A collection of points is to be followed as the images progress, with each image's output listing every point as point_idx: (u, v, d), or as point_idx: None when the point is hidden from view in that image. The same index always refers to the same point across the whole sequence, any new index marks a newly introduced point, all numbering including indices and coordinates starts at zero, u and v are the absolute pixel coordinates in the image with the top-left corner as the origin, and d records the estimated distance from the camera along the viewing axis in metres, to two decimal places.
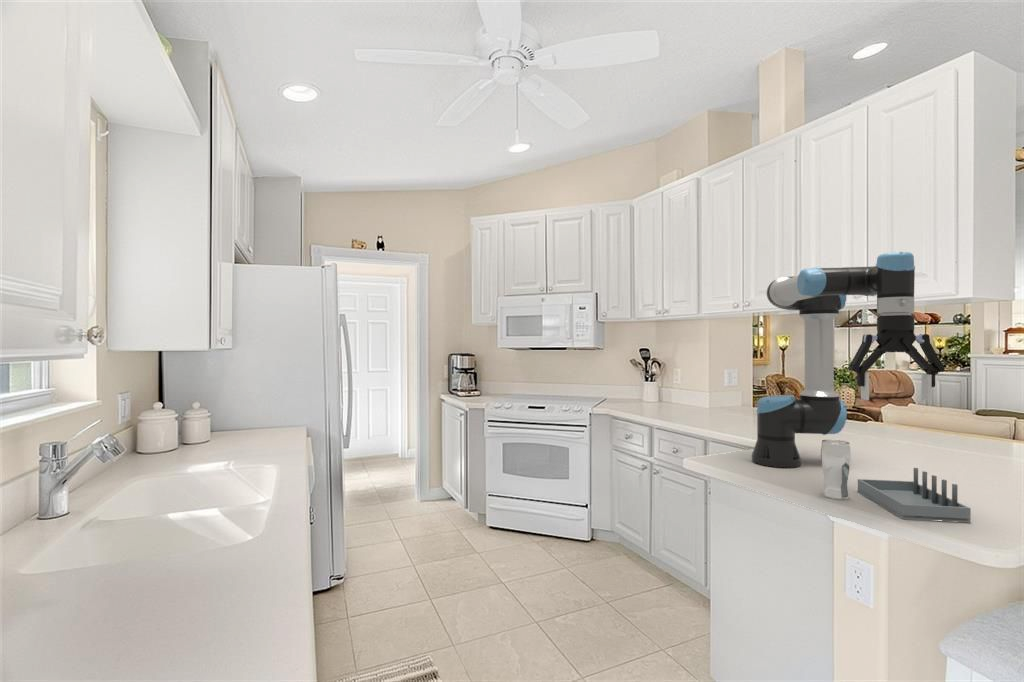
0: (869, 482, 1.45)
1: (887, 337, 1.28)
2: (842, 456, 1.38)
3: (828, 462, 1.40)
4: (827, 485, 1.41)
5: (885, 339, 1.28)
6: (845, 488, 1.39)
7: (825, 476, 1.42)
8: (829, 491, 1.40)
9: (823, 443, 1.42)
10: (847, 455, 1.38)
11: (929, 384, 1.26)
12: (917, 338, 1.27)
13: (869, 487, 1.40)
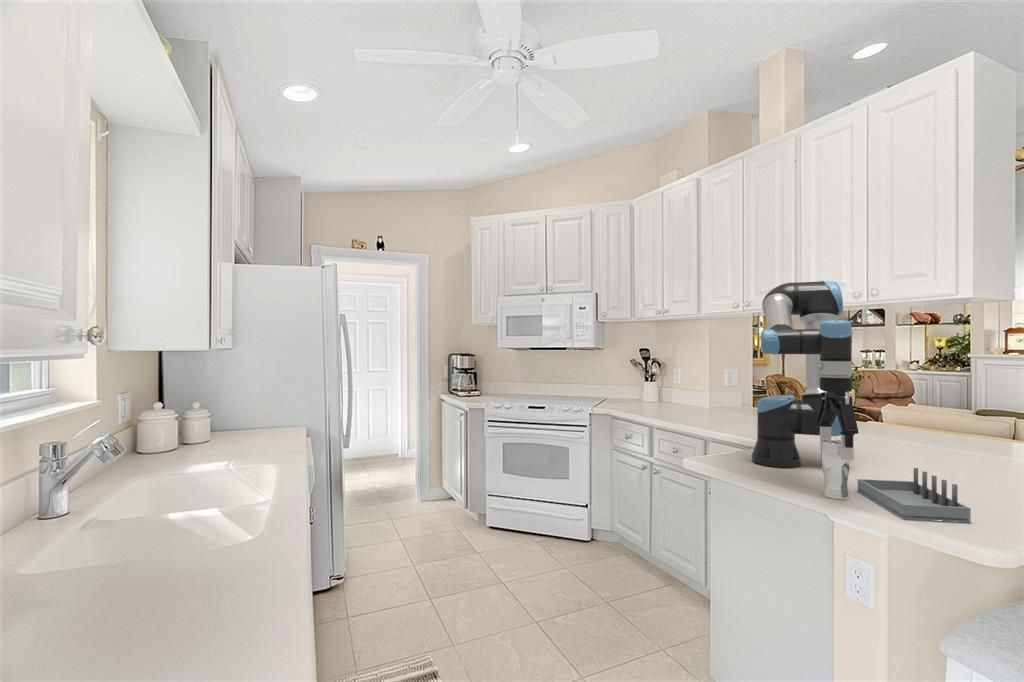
0: (869, 482, 1.45)
1: (827, 396, 1.44)
2: None
3: (828, 462, 1.40)
4: (827, 485, 1.41)
5: None
6: (845, 488, 1.39)
7: (825, 476, 1.42)
8: (829, 491, 1.40)
9: (823, 443, 1.42)
10: None
11: (841, 443, 1.35)
12: None
13: (869, 487, 1.40)
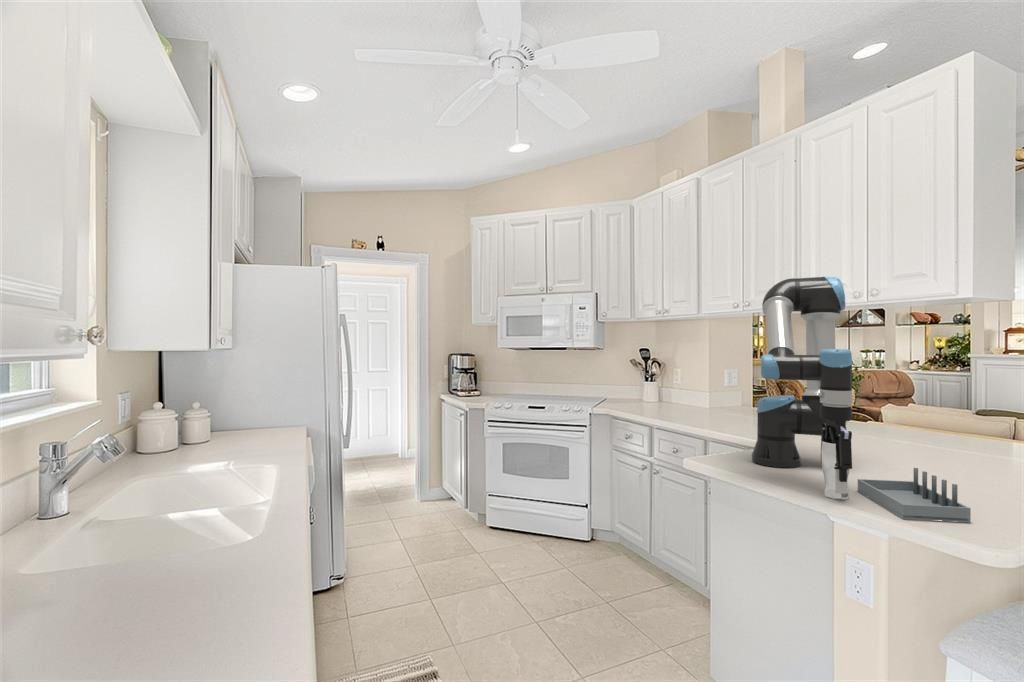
0: (869, 482, 1.45)
1: (827, 423, 1.44)
2: None
3: (828, 462, 1.40)
4: (827, 485, 1.41)
5: (827, 425, 1.44)
6: None
7: (825, 476, 1.42)
8: (829, 491, 1.40)
9: (823, 443, 1.42)
10: None
11: (835, 477, 1.38)
12: None
13: (869, 487, 1.40)
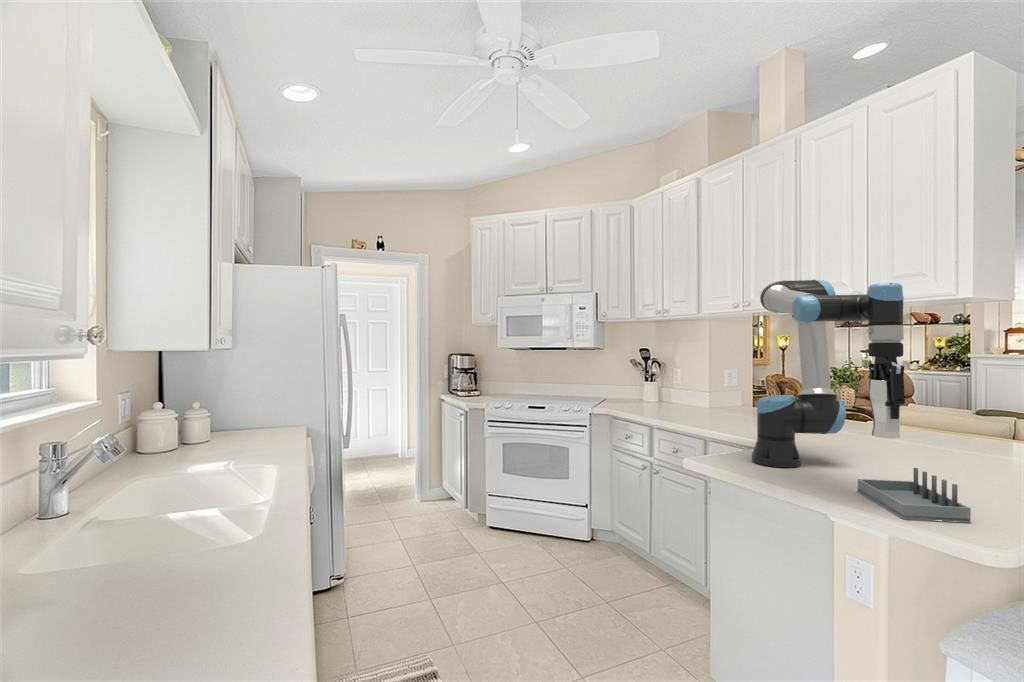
0: (869, 482, 1.45)
1: (876, 361, 1.39)
2: None
3: (878, 400, 1.35)
4: (877, 425, 1.36)
5: (876, 363, 1.39)
6: None
7: (874, 415, 1.36)
8: (879, 430, 1.35)
9: (872, 381, 1.37)
10: None
11: (886, 415, 1.33)
12: None
13: (869, 487, 1.40)
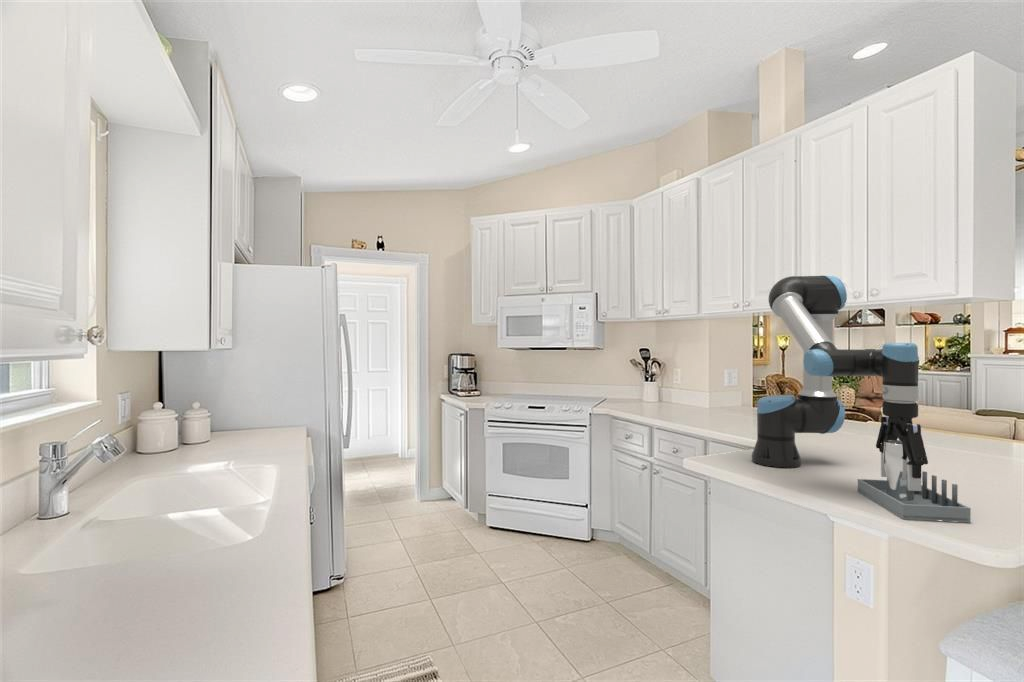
0: (869, 482, 1.45)
1: (890, 421, 1.38)
2: None
3: (892, 464, 1.34)
4: (891, 488, 1.35)
5: (889, 422, 1.38)
6: (911, 491, 1.33)
7: (889, 478, 1.35)
8: (893, 494, 1.34)
9: (886, 444, 1.36)
10: None
11: (908, 473, 1.29)
12: None
13: (869, 487, 1.40)
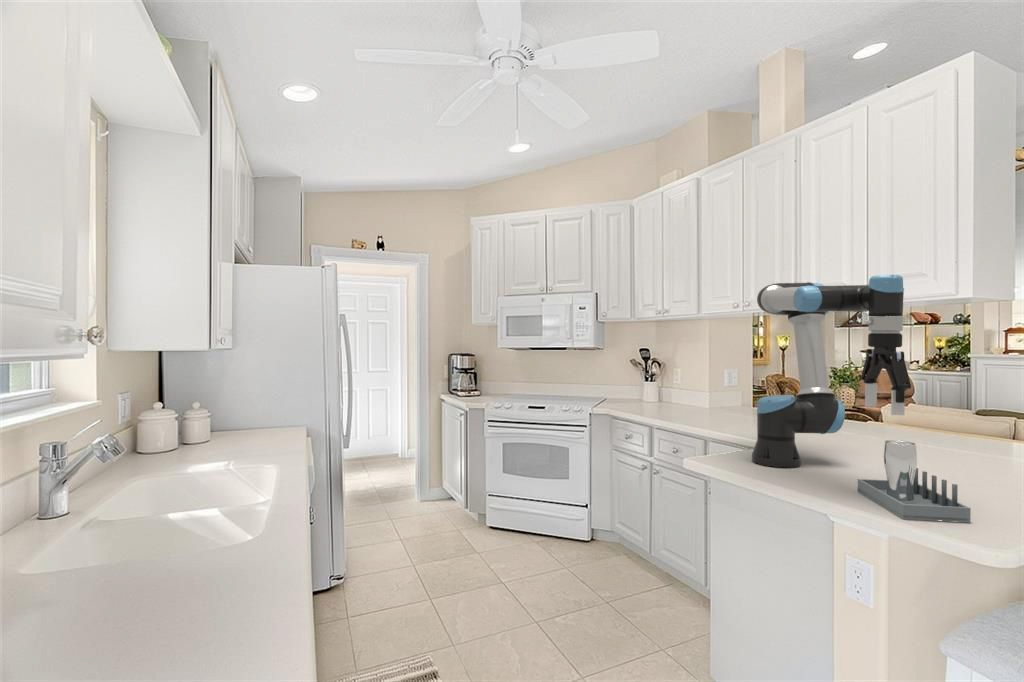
0: (869, 482, 1.45)
1: (875, 352, 1.42)
2: (908, 457, 1.32)
3: (893, 464, 1.34)
4: (891, 488, 1.35)
5: (874, 354, 1.43)
6: (911, 491, 1.33)
7: (889, 478, 1.35)
8: (894, 494, 1.34)
9: (887, 444, 1.35)
10: (913, 456, 1.32)
11: (892, 399, 1.34)
12: None
13: (869, 487, 1.40)
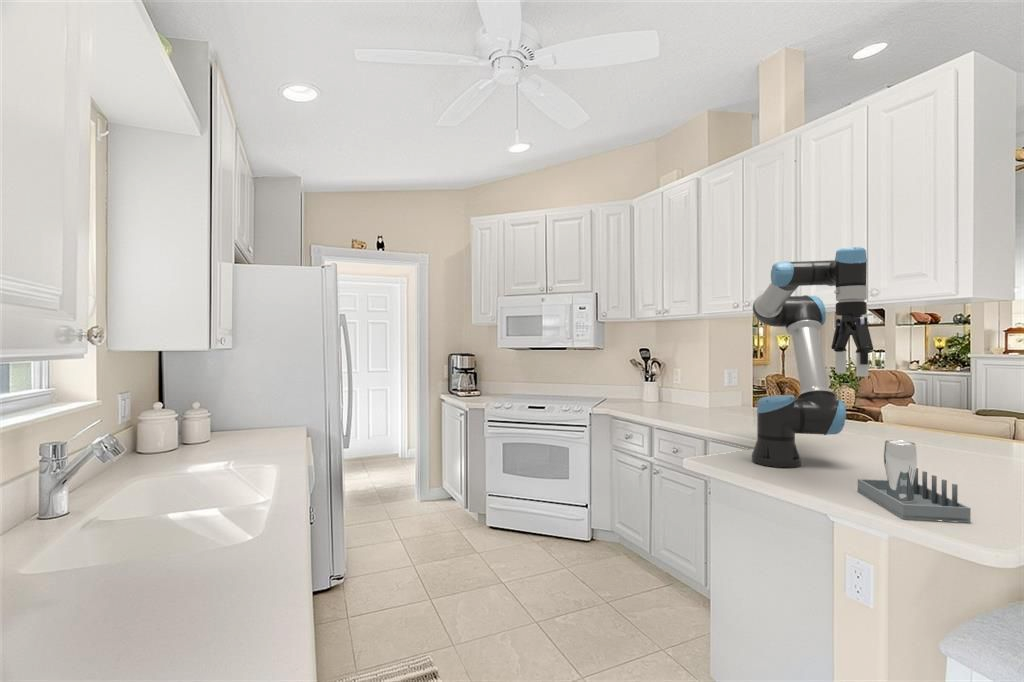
0: (869, 482, 1.45)
1: (843, 321, 1.52)
2: (908, 457, 1.32)
3: (893, 464, 1.34)
4: (891, 488, 1.35)
5: None
6: (911, 491, 1.33)
7: (889, 478, 1.35)
8: (894, 494, 1.34)
9: (887, 444, 1.35)
10: (913, 456, 1.32)
11: (857, 361, 1.43)
12: None
13: (869, 487, 1.40)
